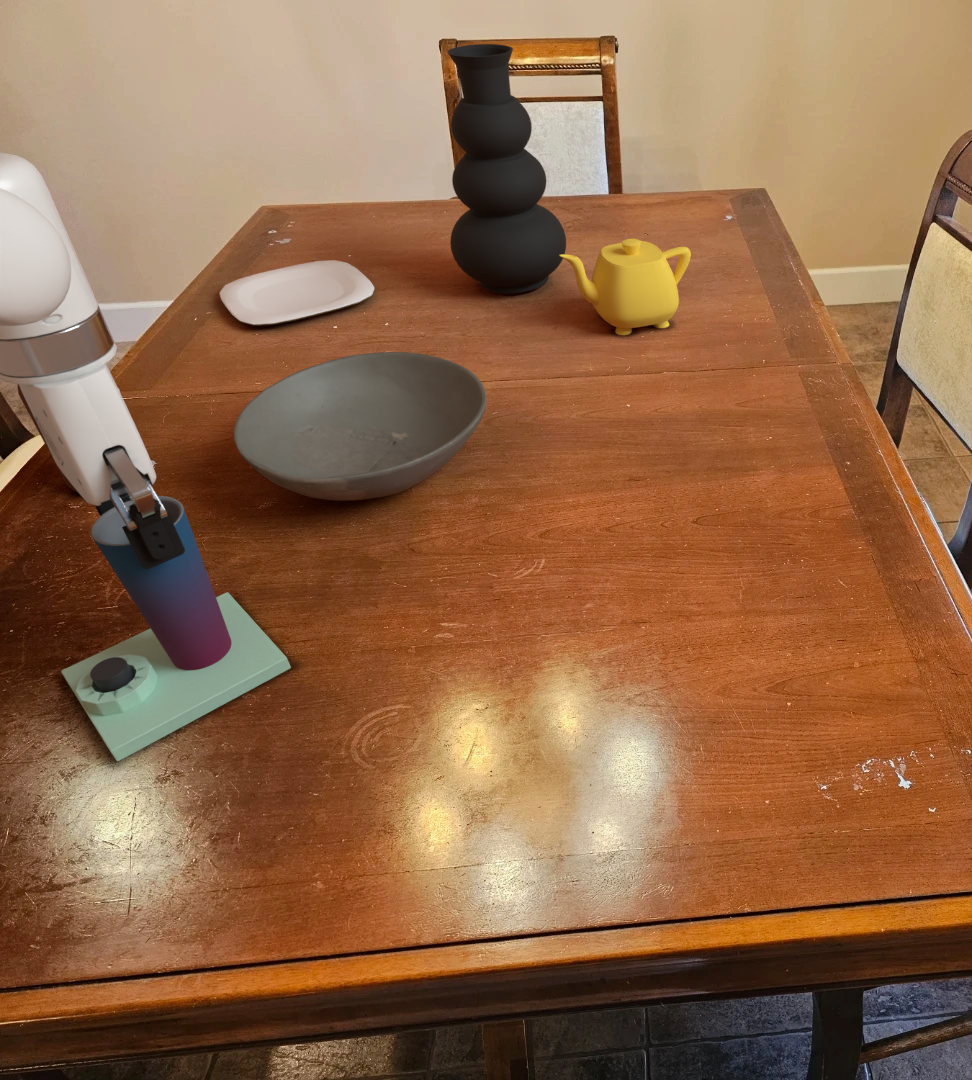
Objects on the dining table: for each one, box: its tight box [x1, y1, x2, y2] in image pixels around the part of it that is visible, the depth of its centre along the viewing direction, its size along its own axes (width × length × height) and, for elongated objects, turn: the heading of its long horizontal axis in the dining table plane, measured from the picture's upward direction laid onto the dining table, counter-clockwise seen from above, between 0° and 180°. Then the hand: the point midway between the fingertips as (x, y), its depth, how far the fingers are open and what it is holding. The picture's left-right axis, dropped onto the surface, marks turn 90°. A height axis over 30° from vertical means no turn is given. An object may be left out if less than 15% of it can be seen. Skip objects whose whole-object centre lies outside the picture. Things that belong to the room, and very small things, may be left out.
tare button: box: [90, 657, 133, 693], centre depth 80 cm, size 3×3×2 cm
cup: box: [90, 495, 232, 670], centre depth 80 cm, size 7×7×15 cm
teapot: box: [559, 238, 692, 336], centre depth 139 cm, size 13×20×12 cm
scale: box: [60, 591, 292, 763], centre depth 83 cm, size 15×13×3 cm
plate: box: [219, 259, 376, 327], centre depth 149 cm, size 22×22×2 cm
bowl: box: [233, 351, 488, 502], centre depth 108 cm, size 27×28×8 cm
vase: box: [447, 43, 567, 295], centre depth 144 cm, size 18×18×35 cm
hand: (142, 534), depth 76 cm, fingers open, 9 cm apart
